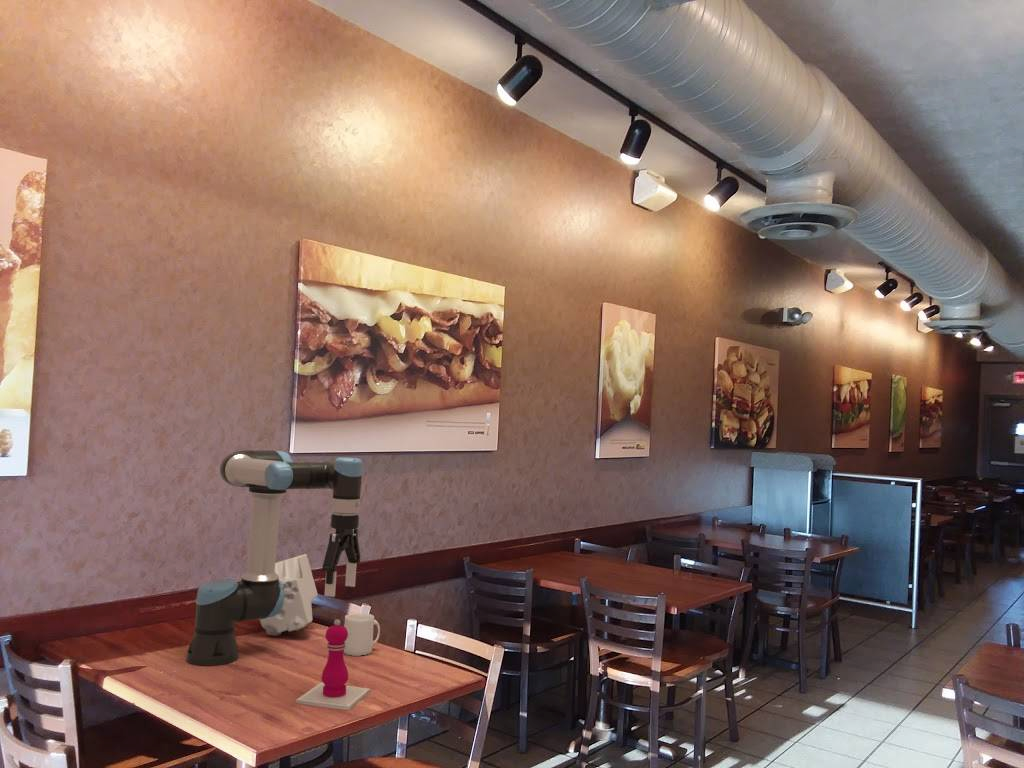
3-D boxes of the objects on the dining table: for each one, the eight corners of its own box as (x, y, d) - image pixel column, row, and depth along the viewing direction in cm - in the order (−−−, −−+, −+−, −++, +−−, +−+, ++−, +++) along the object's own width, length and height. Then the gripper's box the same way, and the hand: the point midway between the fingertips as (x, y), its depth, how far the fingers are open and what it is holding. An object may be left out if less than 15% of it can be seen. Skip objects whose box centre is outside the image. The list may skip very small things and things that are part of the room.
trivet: (296, 703, 214) (296, 699, 214) (320, 686, 228) (320, 682, 229) (348, 710, 211) (348, 706, 211) (370, 692, 225) (370, 688, 225)
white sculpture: (310, 633, 272) (290, 562, 274) (265, 647, 272) (245, 575, 274) (325, 619, 292) (306, 553, 294) (283, 632, 292) (265, 566, 294)
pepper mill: (324, 699, 215) (327, 623, 216) (318, 690, 221) (321, 617, 222) (350, 695, 218) (353, 621, 219) (343, 687, 225) (346, 615, 226)
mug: (336, 651, 262) (339, 615, 263) (366, 645, 271) (368, 610, 272) (354, 658, 256) (356, 621, 257) (384, 652, 265) (386, 616, 265)
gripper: (339, 519, 209) (333, 601, 208) (374, 510, 234) (370, 583, 233) (312, 517, 211) (307, 598, 210) (350, 508, 235) (345, 581, 234)
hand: (340, 591), depth 221 cm, fingers open, 13 cm apart
